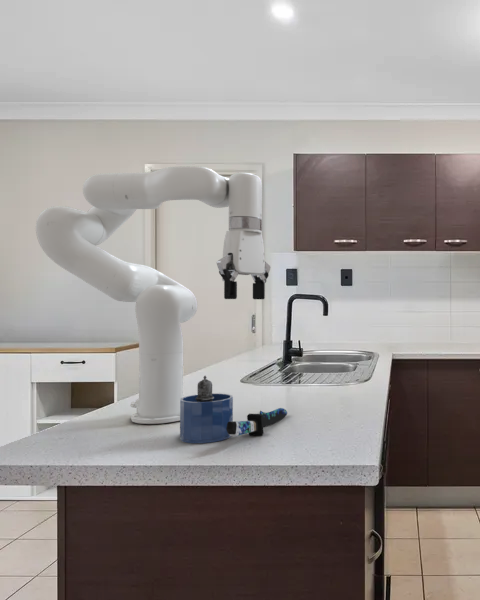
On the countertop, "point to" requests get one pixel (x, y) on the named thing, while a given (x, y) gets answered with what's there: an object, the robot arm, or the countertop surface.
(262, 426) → the knife
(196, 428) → the blue cup
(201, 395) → the salt shaker
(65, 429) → the countertop surface
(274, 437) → the countertop surface
